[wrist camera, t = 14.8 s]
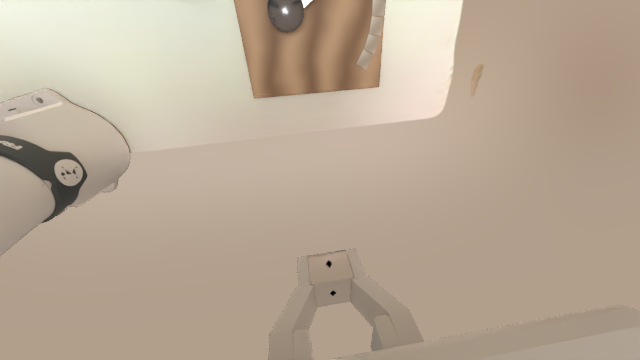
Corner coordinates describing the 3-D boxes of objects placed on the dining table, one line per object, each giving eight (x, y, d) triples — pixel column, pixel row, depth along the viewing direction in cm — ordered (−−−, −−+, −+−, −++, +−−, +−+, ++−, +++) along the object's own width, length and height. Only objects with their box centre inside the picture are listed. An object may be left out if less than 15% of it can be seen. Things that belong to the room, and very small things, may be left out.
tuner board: (254, 96, 40) (254, 98, 39) (214, -101, 28) (211, -107, 26) (376, 85, 42) (379, 87, 40) (389, -104, 29) (393, -110, 28)
